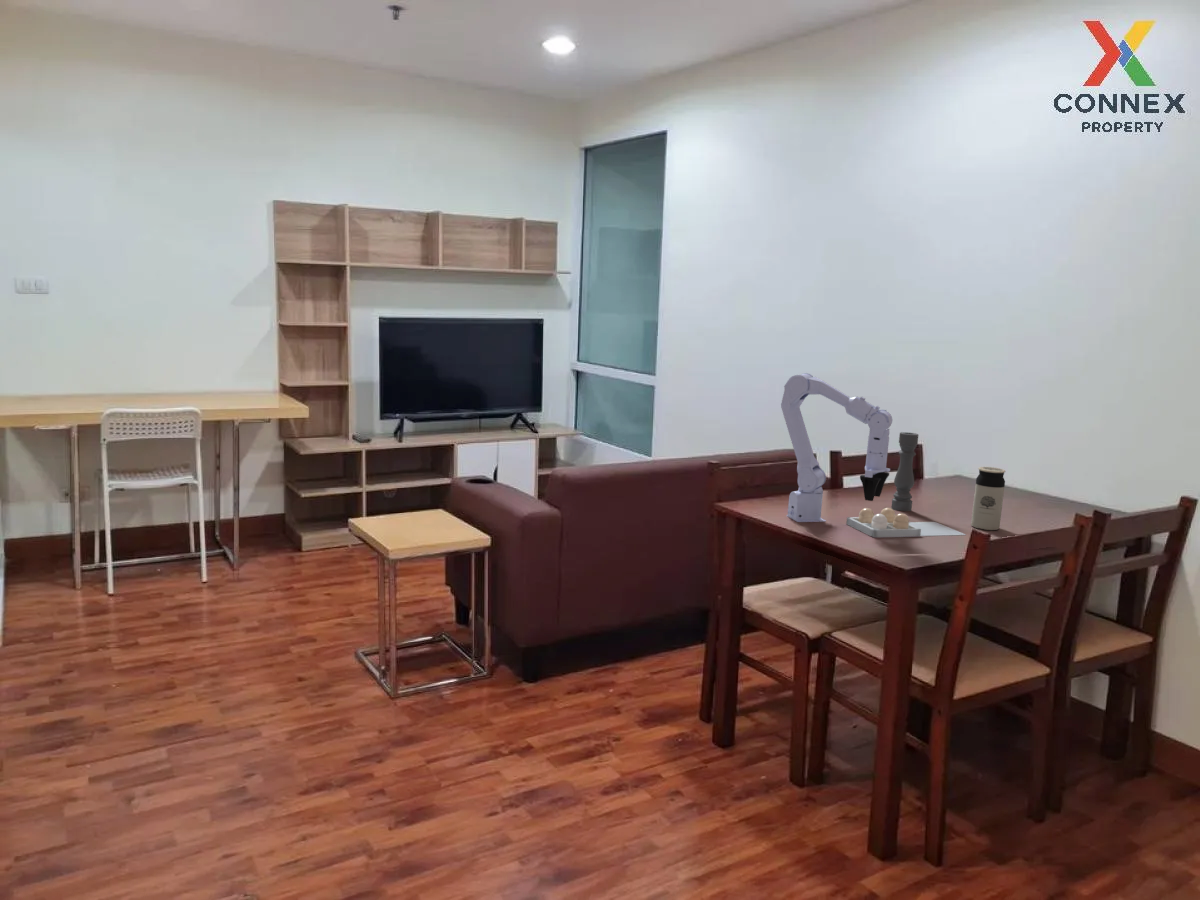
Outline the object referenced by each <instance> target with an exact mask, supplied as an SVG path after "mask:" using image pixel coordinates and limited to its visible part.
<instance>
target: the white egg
mask: <svg viewBox="0 0 1200 900" xmlns="http://www.w3.org/2000/svg"><path fill="white" fill-rule="evenodd" d="M871 528H873V529H887V518H886V516H884V515H883V514H881V513H876V514H874V516H873V518H872V525H871Z"/></svg>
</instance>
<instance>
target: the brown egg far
mask: <svg viewBox="0 0 1200 900" xmlns="http://www.w3.org/2000/svg"><path fill="white" fill-rule="evenodd" d="M880 514H883V515H884V516H886V518H887V523H893V521H894V517H895V516H896V512H895V510H893V509H891V507H885V508H883V509H881V511H880Z"/></svg>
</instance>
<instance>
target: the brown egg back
mask: <svg viewBox="0 0 1200 900" xmlns="http://www.w3.org/2000/svg"><path fill="white" fill-rule="evenodd" d="M909 522H910V519H909V517H908V515H907V514H905V513H902V512H900V513H896V514H895V517H894V521H893V527H894V528H896V529H908V526H909Z"/></svg>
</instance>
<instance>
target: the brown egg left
mask: <svg viewBox="0 0 1200 900" xmlns="http://www.w3.org/2000/svg"><path fill="white" fill-rule="evenodd" d="M874 513H875V512H874V511H873V509H871V508H869V507H864V508H862V509H861V510H860V511H859V514H858V517H859V522H861V523H872V518H873V516H874V515H875V514H874Z"/></svg>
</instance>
